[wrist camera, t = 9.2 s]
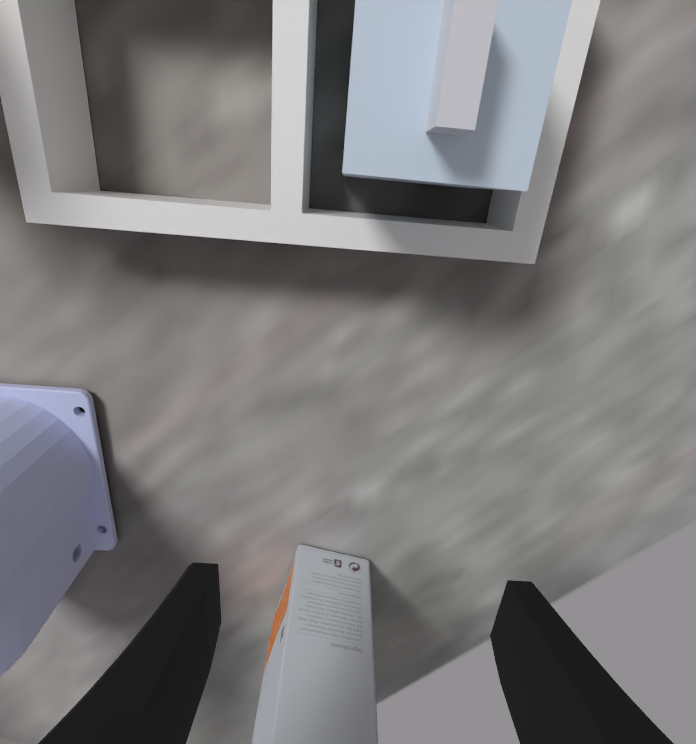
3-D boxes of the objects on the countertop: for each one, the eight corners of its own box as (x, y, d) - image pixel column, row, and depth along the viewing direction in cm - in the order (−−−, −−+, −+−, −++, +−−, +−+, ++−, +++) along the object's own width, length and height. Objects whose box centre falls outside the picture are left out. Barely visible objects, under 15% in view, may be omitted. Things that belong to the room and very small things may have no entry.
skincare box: (296, 540, 24) (253, 847, 13) (370, 557, 24) (390, 866, 13) (271, 613, 26) (216, 927, 15) (339, 628, 27) (334, 941, 16)
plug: (457, 187, 17) (548, 192, 9) (343, 176, 17) (341, 172, 9) (482, 49, 15) (619, -84, 7) (354, 34, 15) (363, -118, 7)
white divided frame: (505, 251, 18) (534, 264, 15) (77, 215, 17) (26, 222, 14) (573, -59, 14) (629, -120, 11) (24, -119, 13) (-61, -199, 10)
